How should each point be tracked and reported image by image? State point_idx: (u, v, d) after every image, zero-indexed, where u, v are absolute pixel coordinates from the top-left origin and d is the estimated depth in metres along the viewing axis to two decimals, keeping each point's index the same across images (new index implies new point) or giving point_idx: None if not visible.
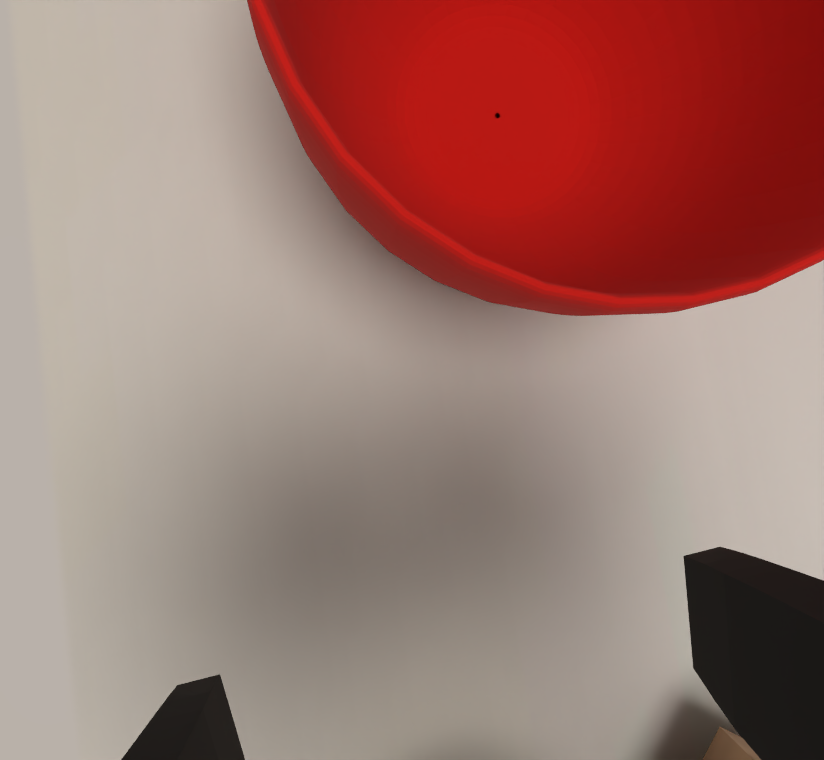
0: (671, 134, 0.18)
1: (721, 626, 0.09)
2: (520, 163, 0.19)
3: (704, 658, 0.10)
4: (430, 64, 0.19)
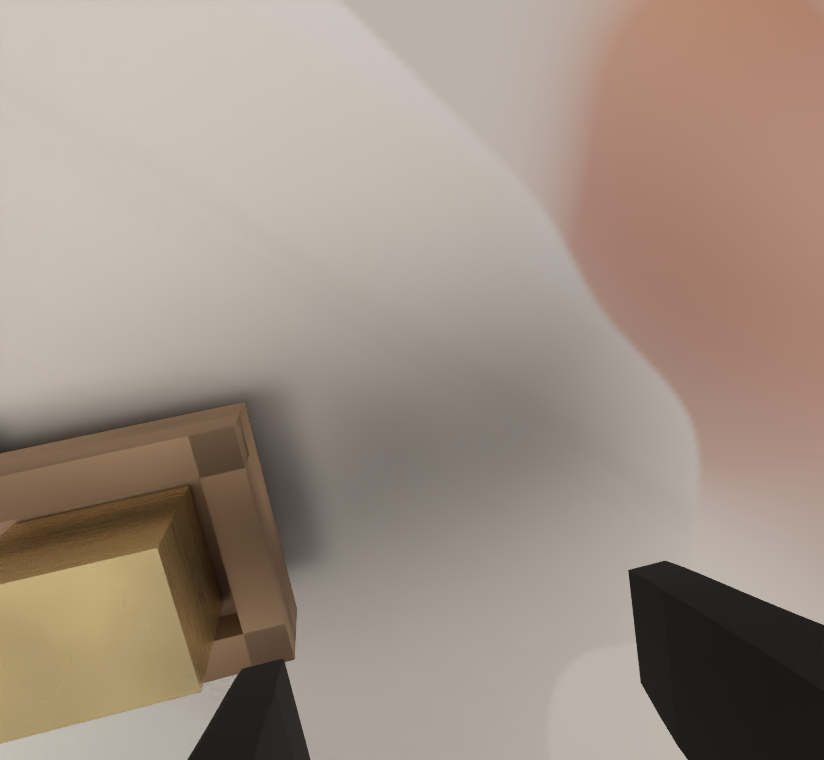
0: None
1: (662, 642, 0.09)
2: None
3: (649, 673, 0.10)
4: None
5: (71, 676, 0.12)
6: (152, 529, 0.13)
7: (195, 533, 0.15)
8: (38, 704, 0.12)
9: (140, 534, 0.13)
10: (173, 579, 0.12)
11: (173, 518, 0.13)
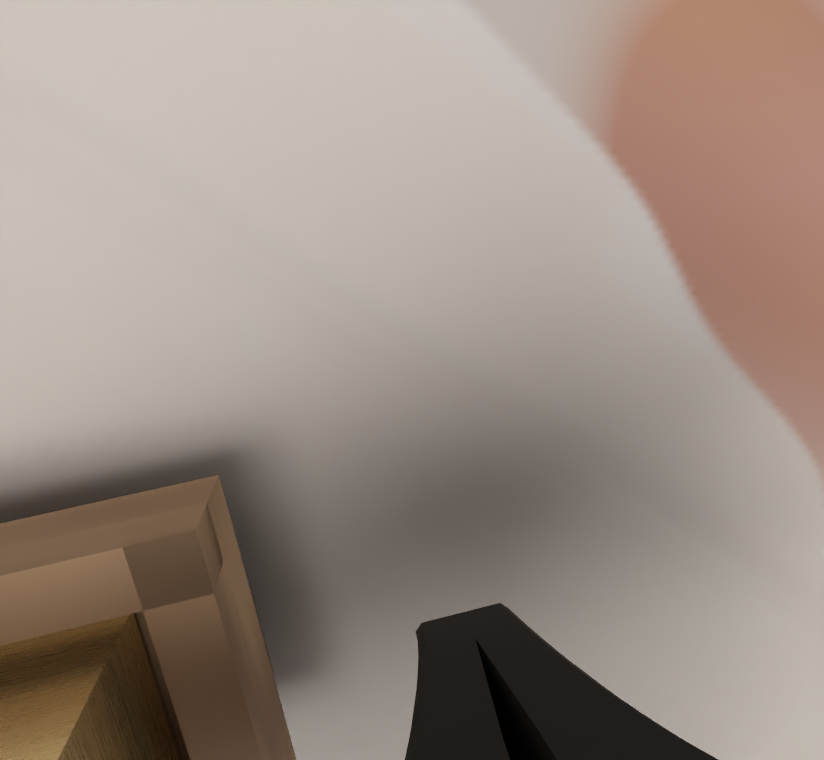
0: None
1: None
2: None
3: None
4: None
5: None
6: (54, 718, 0.08)
7: (139, 687, 0.10)
8: None
9: (33, 728, 0.08)
10: None
11: (94, 690, 0.08)
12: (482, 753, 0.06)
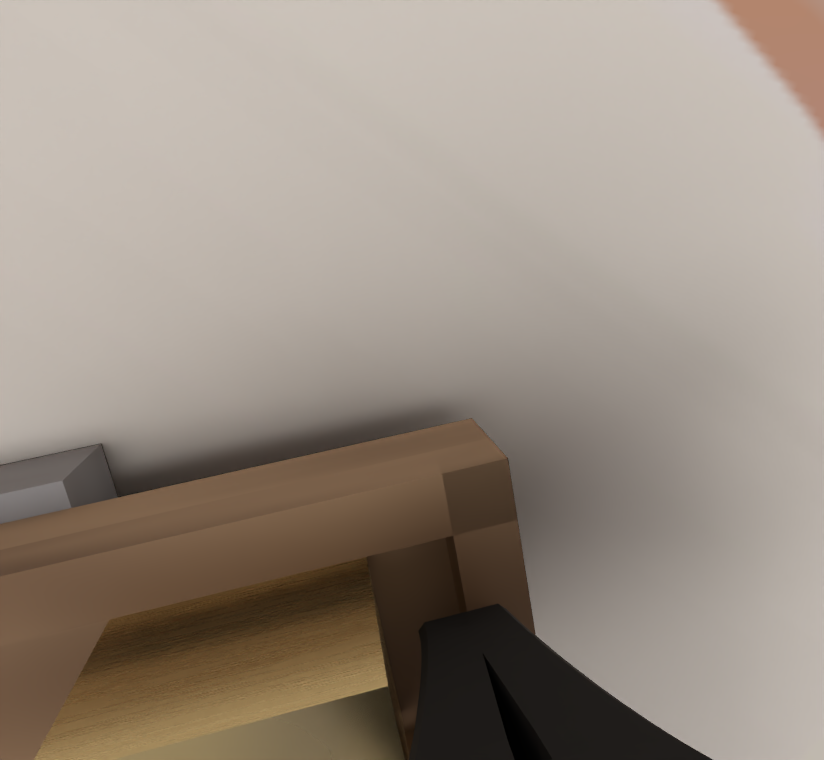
0: None
1: None
2: None
3: None
4: None
5: None
6: (354, 641, 0.08)
7: (380, 626, 0.10)
8: None
9: (337, 649, 0.08)
10: (398, 728, 0.08)
11: (376, 618, 0.09)
12: (486, 752, 0.06)
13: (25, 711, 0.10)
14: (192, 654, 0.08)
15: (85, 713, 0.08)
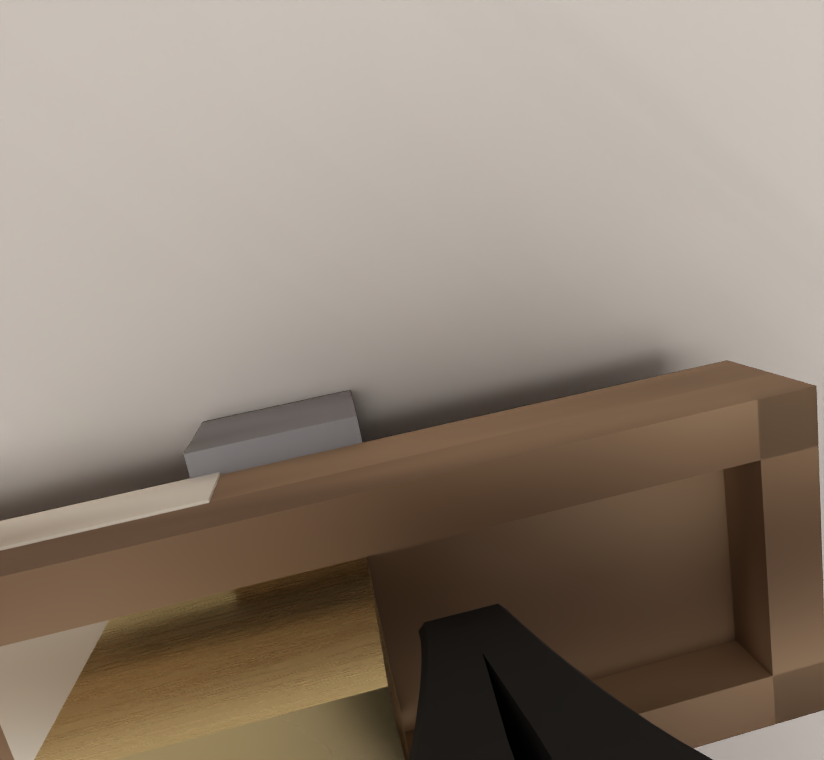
0: None
1: None
2: None
3: None
4: None
5: None
6: (354, 642, 0.08)
7: (380, 626, 0.10)
8: None
9: (337, 649, 0.08)
10: (398, 728, 0.08)
11: (376, 618, 0.09)
12: (486, 752, 0.06)
13: None
14: (192, 654, 0.08)
15: (85, 713, 0.08)
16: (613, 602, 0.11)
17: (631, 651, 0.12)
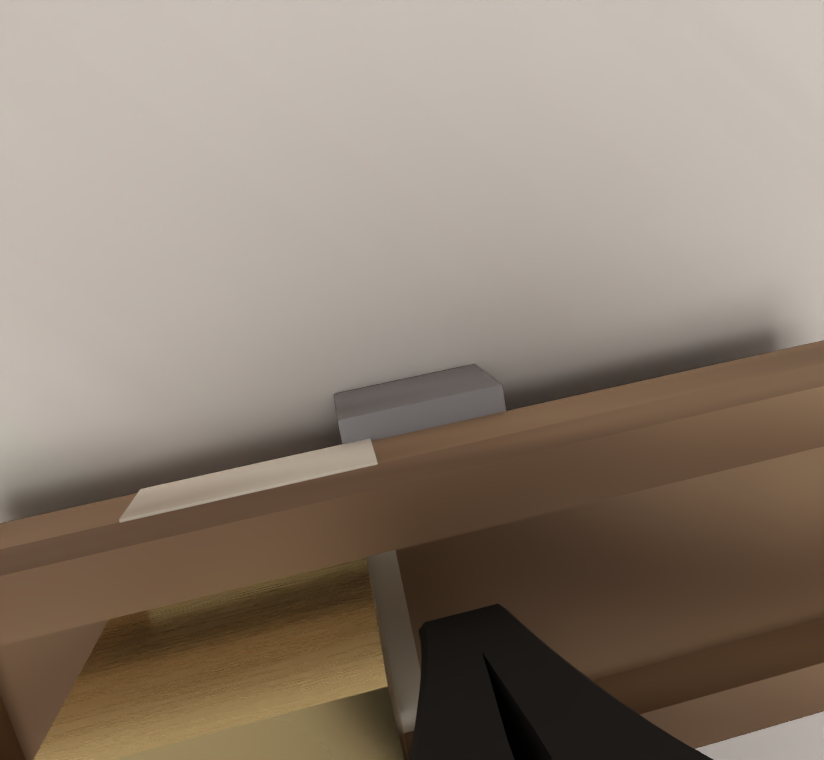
0: None
1: None
2: None
3: None
4: None
5: None
6: (354, 642, 0.08)
7: (380, 626, 0.10)
8: None
9: (337, 650, 0.08)
10: (397, 729, 0.08)
11: (376, 618, 0.09)
12: (486, 752, 0.06)
13: (488, 594, 0.11)
14: (192, 654, 0.08)
15: (85, 713, 0.08)
16: (749, 567, 0.12)
17: (763, 616, 0.12)
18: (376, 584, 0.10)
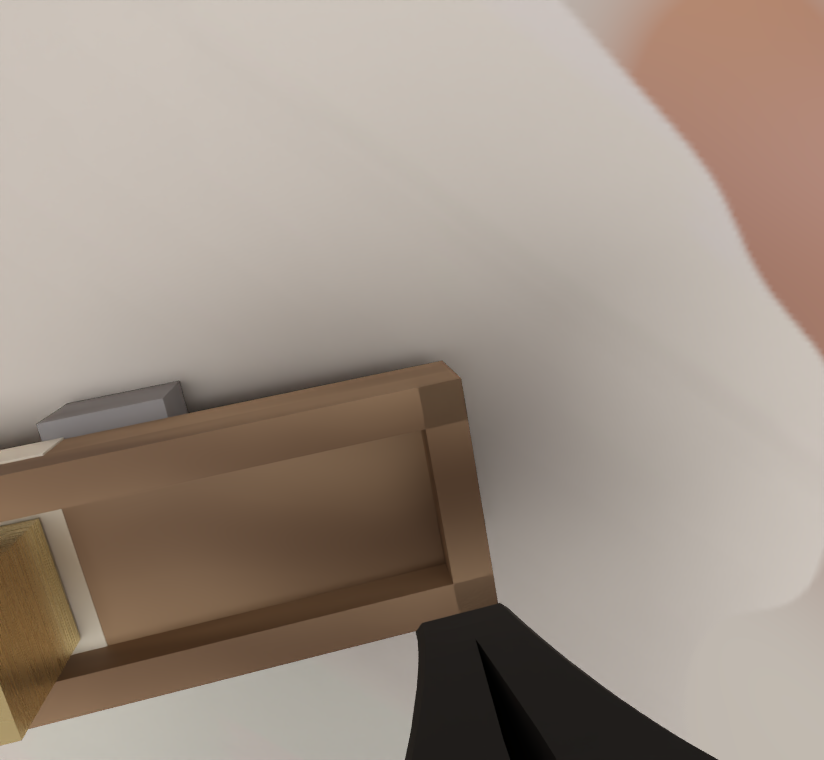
0: None
1: None
2: None
3: None
4: None
5: None
6: None
7: (41, 569, 0.14)
8: None
9: None
10: None
11: (1, 557, 0.13)
12: (482, 753, 0.06)
13: (140, 550, 0.15)
14: None
15: None
16: (347, 533, 0.16)
17: (365, 569, 0.16)
18: (51, 541, 0.15)
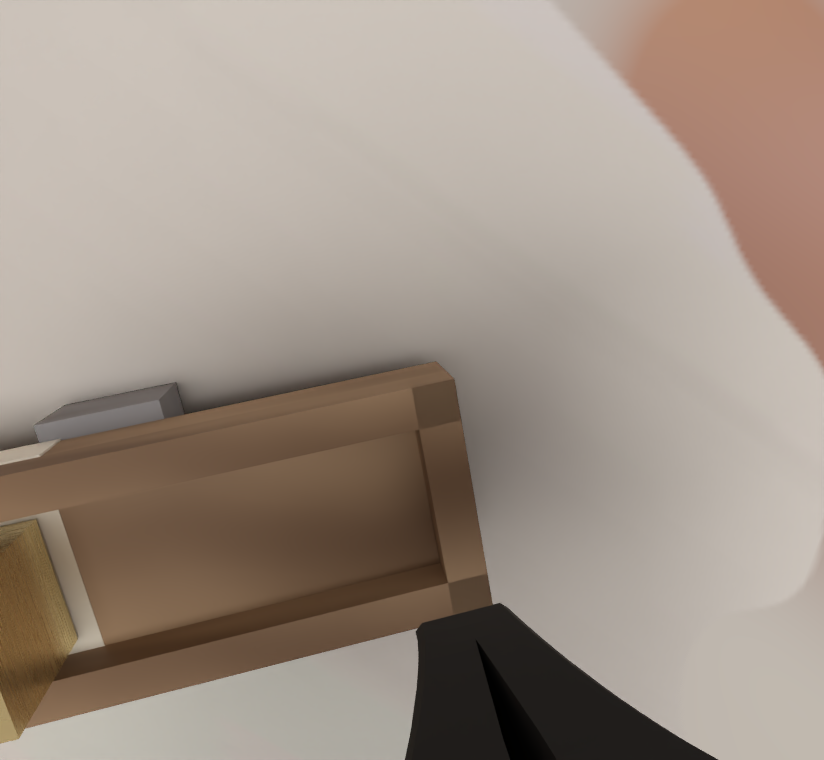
0: None
1: None
2: None
3: None
4: None
5: None
6: None
7: (38, 569, 0.14)
8: None
9: None
10: None
11: None
12: (482, 753, 0.06)
13: (137, 550, 0.15)
14: None
15: None
16: (342, 532, 0.16)
17: (360, 569, 0.16)
18: (48, 542, 0.15)
